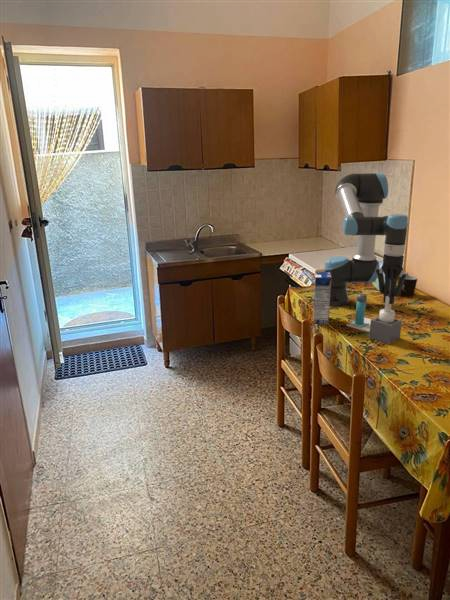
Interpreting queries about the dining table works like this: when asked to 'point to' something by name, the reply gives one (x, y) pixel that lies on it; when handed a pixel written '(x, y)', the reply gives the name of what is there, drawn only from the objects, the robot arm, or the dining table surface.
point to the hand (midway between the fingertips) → (387, 310)
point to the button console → (385, 330)
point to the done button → (386, 316)
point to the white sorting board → (361, 327)
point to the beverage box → (322, 298)
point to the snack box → (377, 277)
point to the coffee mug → (409, 286)
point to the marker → (360, 309)
